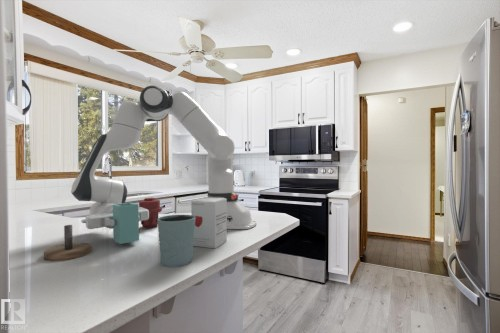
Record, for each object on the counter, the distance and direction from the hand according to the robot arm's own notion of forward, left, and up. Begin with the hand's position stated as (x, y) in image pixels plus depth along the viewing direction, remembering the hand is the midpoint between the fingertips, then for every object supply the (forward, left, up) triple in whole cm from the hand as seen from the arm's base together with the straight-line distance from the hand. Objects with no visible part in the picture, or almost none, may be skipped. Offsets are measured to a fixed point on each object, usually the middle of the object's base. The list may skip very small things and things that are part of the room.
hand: (126, 221), depth 89 cm
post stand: (+11, +12, -8) cm, 18 cm away
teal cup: (-24, +9, -8) cm, 27 cm away
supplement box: (-26, -8, -8) cm, 28 cm away
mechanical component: (+9, -24, -8) cm, 27 cm away
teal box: (+1, 0, -7) cm, 7 cm away
